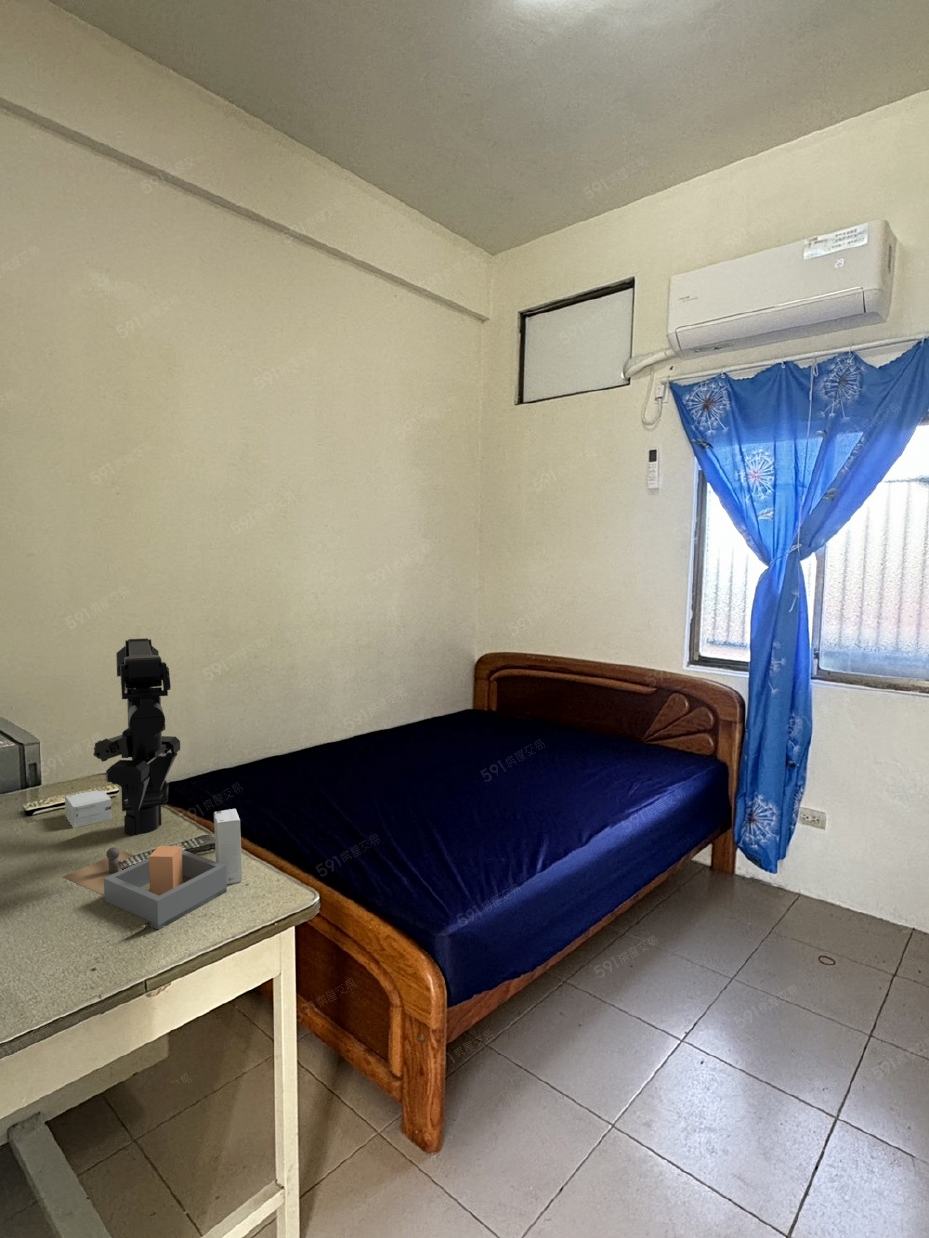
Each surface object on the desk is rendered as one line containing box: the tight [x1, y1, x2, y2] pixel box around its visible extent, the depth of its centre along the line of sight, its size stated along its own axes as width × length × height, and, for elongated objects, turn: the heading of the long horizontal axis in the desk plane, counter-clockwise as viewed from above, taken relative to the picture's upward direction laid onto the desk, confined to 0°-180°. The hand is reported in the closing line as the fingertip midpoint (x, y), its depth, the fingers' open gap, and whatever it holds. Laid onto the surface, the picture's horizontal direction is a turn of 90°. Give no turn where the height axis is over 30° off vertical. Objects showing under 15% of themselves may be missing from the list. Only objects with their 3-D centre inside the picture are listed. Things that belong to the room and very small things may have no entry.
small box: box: [64, 788, 113, 829], centre depth 149 cm, size 8×8×5 cm
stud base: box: [62, 846, 136, 896], centre depth 124 cm, size 12×12×6 cm
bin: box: [103, 849, 228, 931], centre depth 117 cm, size 14×14×5 cm
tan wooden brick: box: [148, 845, 184, 896], centre depth 116 cm, size 4×4×8 cm
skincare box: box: [213, 808, 243, 886], centre depth 124 cm, size 6×4×12 cm
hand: (146, 800), depth 128 cm, fingers open, 9 cm apart
